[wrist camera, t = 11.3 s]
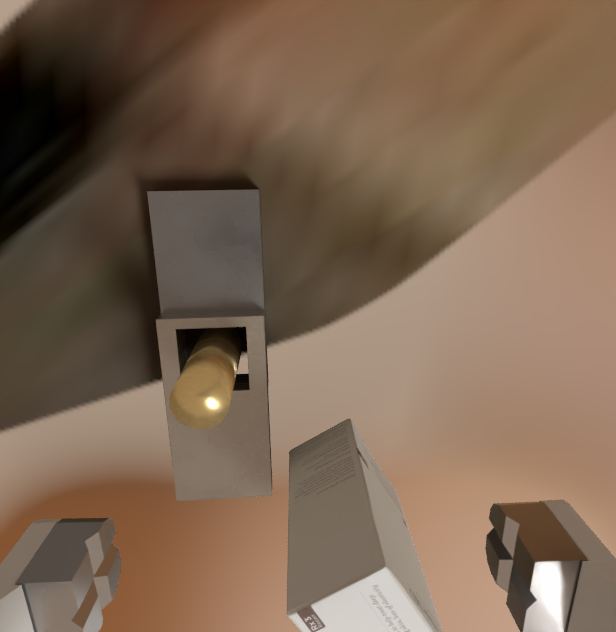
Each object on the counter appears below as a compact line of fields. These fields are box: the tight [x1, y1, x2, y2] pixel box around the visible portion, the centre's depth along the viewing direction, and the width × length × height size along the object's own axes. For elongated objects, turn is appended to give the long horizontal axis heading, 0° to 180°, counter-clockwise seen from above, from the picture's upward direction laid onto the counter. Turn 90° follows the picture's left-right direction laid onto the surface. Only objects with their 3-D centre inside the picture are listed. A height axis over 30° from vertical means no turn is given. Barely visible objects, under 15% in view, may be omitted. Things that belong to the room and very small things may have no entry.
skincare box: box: [287, 419, 443, 632], centre depth 29 cm, size 8×6×15 cm
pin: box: [169, 327, 242, 429], centre depth 28 cm, size 3×3×9 cm
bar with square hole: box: [147, 189, 272, 501], centre depth 31 cm, size 7×22×3 cm, turn 1°
